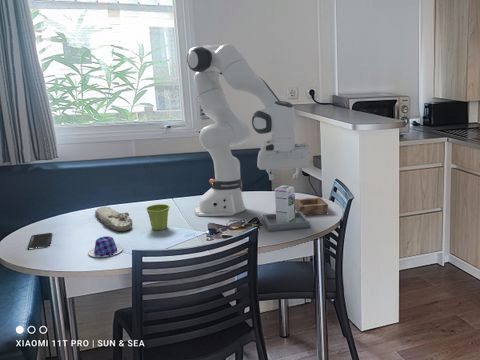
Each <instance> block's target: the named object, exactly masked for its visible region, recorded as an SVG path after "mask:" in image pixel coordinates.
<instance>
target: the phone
mask: <svg viewBox="0 0 480 360" xmlns="http://www.w3.org/2000/svg"><path fill="white" fill-rule="evenodd" d="M53 234H54V233H53V232H47V233H39V234H32V235H31V236H30V240H29V242H28V245H27V249H28V248H36V247H37V248H38V247H45V248H47V247H46V246H49V247H51V245H50V244H52V240H53ZM38 249H39V248H38Z"/></svg>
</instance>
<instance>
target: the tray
mask: <svg viewBox="0 0 480 360" xmlns="http://www.w3.org/2000/svg"><path fill="white" fill-rule="evenodd" d="M295 220H296V221H295V222H293V223H281V224H278V223H276V213H268V214H267V213H266V214H262V222H263V223H264V226H265V227H266V229H267V231H268V232H280V231H292V230H303V229H310V226H311V225H310V224H311V223H310V221H309V220H308V218H307V217H306V216H304V215H303V213H302V212H296V211H295Z"/></svg>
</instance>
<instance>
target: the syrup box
mask: <svg viewBox="0 0 480 360" xmlns="http://www.w3.org/2000/svg"><path fill="white" fill-rule="evenodd" d="M295 195H296V194H295V186H292V185H281V186H277V187H275V188H274V197H275V198H274V199H275V200H274V201H275V202H274V203H275V214H276V223H278V224H281V223H293V222H295V221H296V220H295V212H296V210H295V199H296V198H295Z"/></svg>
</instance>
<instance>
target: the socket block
mask: <svg viewBox="0 0 480 360" xmlns="http://www.w3.org/2000/svg"><path fill="white" fill-rule="evenodd" d="M296 211H297V212H302V213H303V215H307V216H314V215H313V214H319V215H328V214H329V204H328V203H327V202H326V201H325V200H324V199H323V198H322V197H320V196H319V197H308V198H307V197H306V198H295V212H296ZM327 213H328V214H327Z"/></svg>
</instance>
